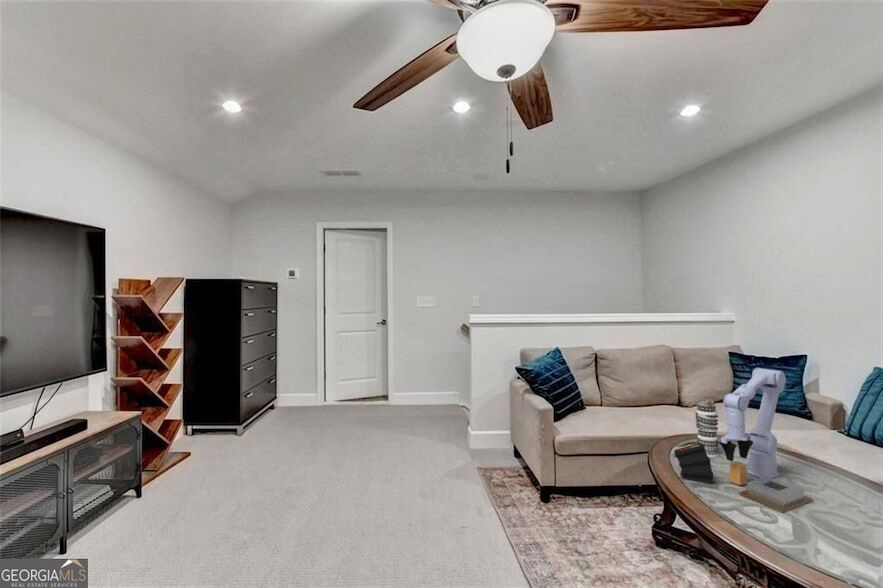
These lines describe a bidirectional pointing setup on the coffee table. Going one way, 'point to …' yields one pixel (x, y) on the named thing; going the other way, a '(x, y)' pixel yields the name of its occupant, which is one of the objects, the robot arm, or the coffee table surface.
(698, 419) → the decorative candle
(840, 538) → the coffee table surface
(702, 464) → the black ridged slab
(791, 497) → the socket
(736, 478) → the orange rectangular block
